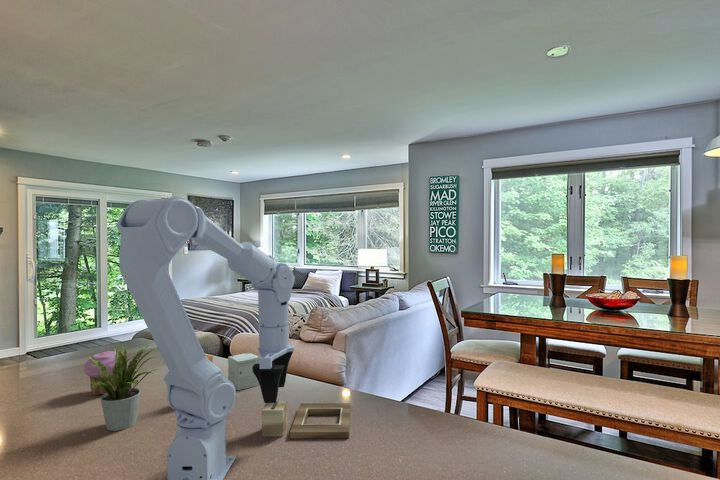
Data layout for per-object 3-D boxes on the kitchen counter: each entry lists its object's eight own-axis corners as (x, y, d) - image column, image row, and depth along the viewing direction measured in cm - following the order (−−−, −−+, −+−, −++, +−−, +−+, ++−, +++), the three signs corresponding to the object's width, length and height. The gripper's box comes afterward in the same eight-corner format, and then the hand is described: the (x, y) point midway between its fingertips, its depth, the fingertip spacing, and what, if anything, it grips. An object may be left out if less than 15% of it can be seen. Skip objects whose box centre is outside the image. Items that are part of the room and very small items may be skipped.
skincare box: (237, 391, 98) (237, 361, 98) (227, 384, 103) (227, 356, 103) (260, 385, 102) (259, 356, 102) (249, 379, 107) (249, 351, 107)
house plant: (180, 419, 83) (179, 341, 83) (111, 449, 71) (110, 358, 71) (140, 405, 90) (140, 333, 90) (71, 431, 78) (70, 348, 78)
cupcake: (79, 400, 93) (78, 358, 93) (91, 387, 102) (90, 348, 102) (122, 395, 96) (121, 354, 96) (130, 383, 104) (130, 345, 104)
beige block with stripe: (283, 436, 76) (282, 409, 76) (262, 436, 76) (261, 409, 76) (287, 426, 80) (286, 400, 80) (267, 426, 80) (266, 400, 80)
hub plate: (348, 438, 74) (348, 431, 74) (290, 438, 75) (290, 431, 75) (350, 408, 87) (350, 402, 87) (300, 408, 88) (300, 403, 88)
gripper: (287, 333, 70) (288, 409, 70) (300, 316, 85) (301, 380, 85) (247, 333, 70) (248, 410, 70) (267, 317, 85) (267, 380, 85)
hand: (274, 394), depth 78 cm, fingers open, 7 cm apart
